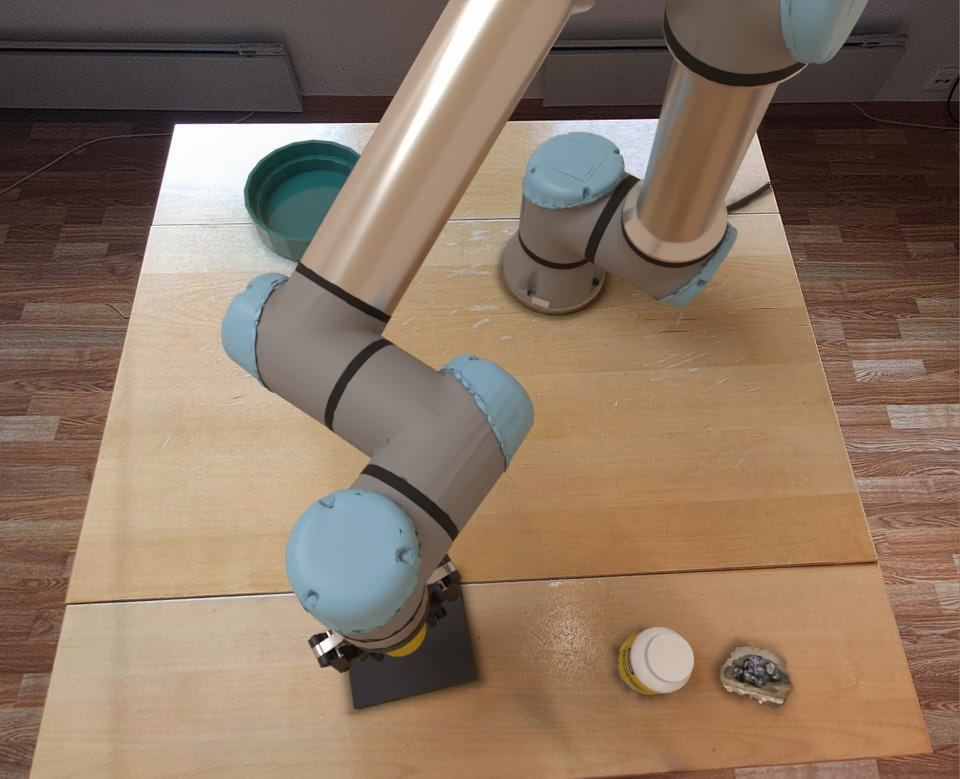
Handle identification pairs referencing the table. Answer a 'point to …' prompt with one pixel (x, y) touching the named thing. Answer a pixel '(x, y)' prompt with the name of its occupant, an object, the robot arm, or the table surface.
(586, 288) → the robot arm
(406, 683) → the mat
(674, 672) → the pill bottle
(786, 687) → the mineral rock
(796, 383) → the table surface
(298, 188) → the bowl
